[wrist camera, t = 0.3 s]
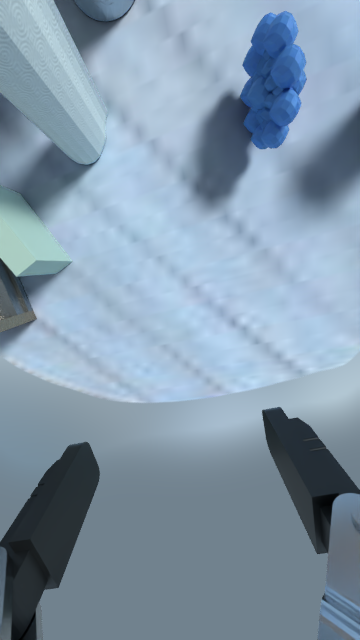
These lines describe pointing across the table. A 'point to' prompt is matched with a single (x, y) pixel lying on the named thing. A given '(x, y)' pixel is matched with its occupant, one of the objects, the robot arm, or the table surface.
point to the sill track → (13, 300)
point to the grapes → (273, 80)
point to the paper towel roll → (50, 78)
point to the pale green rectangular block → (27, 239)
